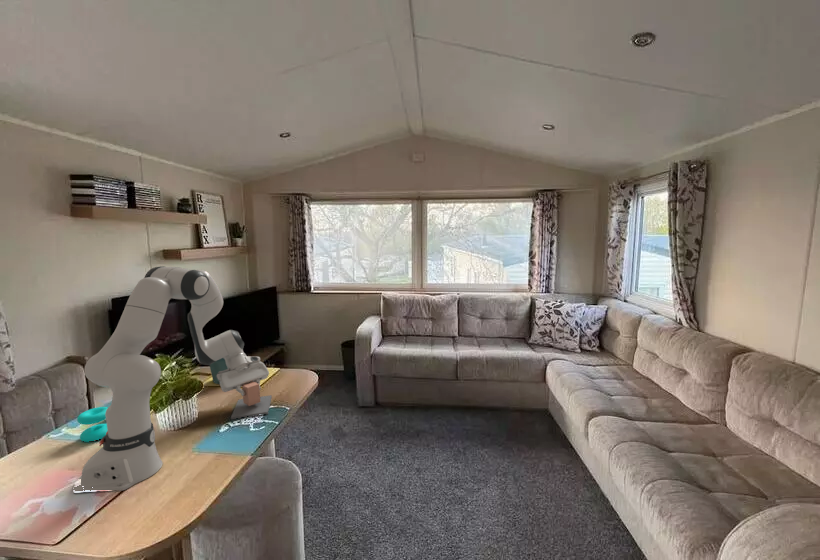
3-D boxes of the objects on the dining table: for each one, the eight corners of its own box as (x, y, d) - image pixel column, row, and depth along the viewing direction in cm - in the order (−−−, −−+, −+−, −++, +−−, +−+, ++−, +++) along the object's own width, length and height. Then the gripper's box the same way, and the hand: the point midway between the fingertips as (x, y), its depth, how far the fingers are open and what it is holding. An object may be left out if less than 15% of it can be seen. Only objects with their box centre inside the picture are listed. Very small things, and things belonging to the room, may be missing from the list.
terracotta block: (249, 406, 162) (247, 387, 161) (243, 402, 165) (241, 385, 164) (260, 401, 166) (258, 384, 164) (254, 398, 169) (253, 381, 168)
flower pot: (205, 388, 188) (202, 356, 186) (210, 376, 204) (207, 347, 202) (241, 383, 194) (239, 352, 192) (244, 372, 209) (241, 343, 207)
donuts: (75, 420, 137) (78, 410, 145) (79, 447, 139) (81, 435, 147) (110, 412, 143) (111, 403, 151) (114, 437, 145) (114, 427, 153)
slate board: (231, 419, 156) (231, 417, 156) (238, 401, 172) (238, 399, 172) (267, 414, 159) (267, 411, 159) (271, 397, 176) (271, 395, 175)
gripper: (216, 368, 160) (229, 397, 155) (262, 355, 175) (275, 381, 170) (212, 376, 163) (225, 404, 158) (258, 363, 179) (271, 388, 174)
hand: (251, 392), depth 164 cm, fingers closed on terracotta block, 5 cm apart
